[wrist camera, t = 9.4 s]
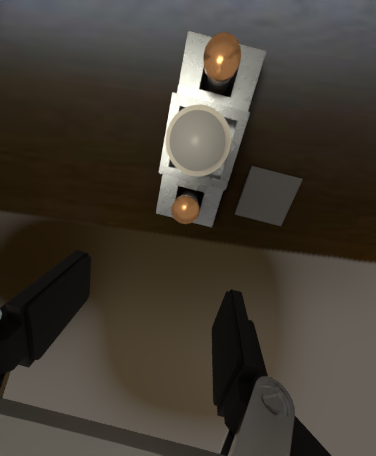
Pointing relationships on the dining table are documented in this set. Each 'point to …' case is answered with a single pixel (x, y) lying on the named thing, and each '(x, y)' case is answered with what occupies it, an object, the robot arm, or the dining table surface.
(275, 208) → the mat
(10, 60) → the dining table surface
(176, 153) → the cylinder
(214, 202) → the housing
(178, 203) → the plunger
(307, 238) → the dining table surface
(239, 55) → the plunger
